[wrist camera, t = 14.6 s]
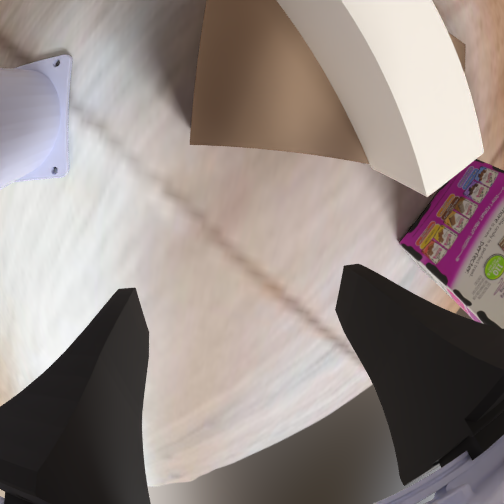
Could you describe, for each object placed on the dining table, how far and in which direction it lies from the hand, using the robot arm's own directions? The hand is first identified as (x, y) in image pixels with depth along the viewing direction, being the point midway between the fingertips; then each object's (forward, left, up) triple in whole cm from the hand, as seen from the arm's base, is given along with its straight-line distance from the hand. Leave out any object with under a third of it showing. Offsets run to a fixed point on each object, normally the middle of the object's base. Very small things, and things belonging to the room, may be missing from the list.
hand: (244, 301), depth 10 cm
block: (+5, +9, -4) cm, 11 cm away
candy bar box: (+20, +1, -10) cm, 22 cm away
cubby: (+5, +9, -10) cm, 14 cm away
